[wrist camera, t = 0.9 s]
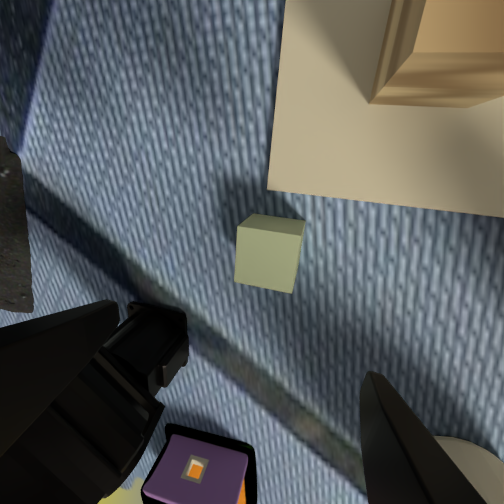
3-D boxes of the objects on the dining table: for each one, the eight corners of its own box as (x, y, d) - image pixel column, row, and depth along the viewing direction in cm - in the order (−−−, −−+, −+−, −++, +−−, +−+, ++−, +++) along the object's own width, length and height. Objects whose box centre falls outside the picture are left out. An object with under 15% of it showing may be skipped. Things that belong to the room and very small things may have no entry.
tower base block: (368, 104, 15) (383, 86, 11) (393, -10, 13) (421, -76, 9) (467, 108, 13) (519, 90, 10) (510, -15, 12) (595, -93, 8)
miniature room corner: (165, 418, 32) (127, 481, 26) (255, 442, 29) (236, 520, 23) (178, 477, 36) (147, 543, 30) (258, 503, 33) (243, 583, 27)
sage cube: (249, 260, 21) (234, 281, 17) (253, 213, 19) (237, 226, 16) (297, 269, 20) (291, 293, 16) (305, 220, 19) (301, 235, 15)
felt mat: (268, 188, 18) (266, 189, 18) (302, -143, 12) (301, -157, 12) (531, 219, 15) (538, 222, 14) (754, -218, 9) (782, -242, 8)
